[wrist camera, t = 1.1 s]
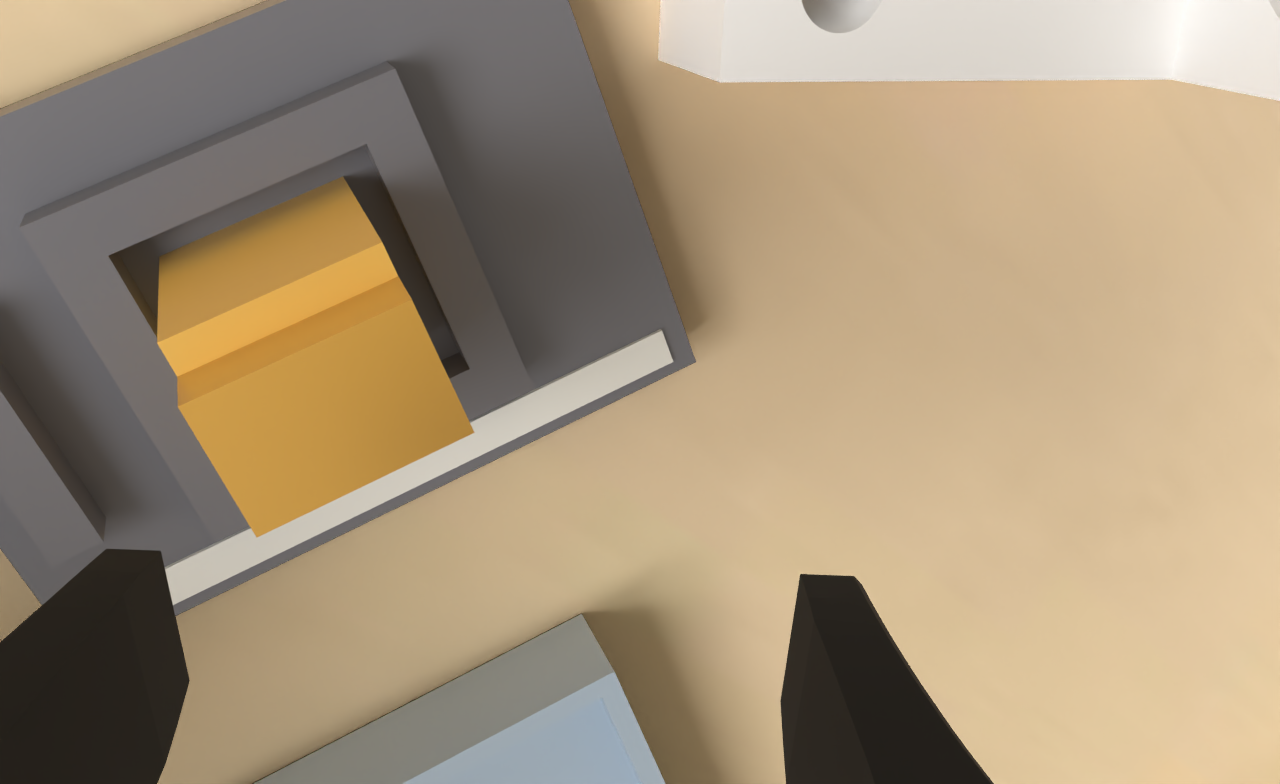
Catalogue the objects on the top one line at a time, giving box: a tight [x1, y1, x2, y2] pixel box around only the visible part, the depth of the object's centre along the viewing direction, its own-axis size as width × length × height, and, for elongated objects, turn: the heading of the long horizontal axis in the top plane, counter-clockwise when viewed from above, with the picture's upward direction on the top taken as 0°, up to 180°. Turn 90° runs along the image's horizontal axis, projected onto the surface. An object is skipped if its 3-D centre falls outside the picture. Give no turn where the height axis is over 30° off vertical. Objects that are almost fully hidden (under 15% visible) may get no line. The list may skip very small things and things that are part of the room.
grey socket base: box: [0, 0, 696, 616], centre depth 23 cm, size 14×10×2 cm
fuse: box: [157, 177, 474, 537], centre depth 21 cm, size 4×4×6 cm
